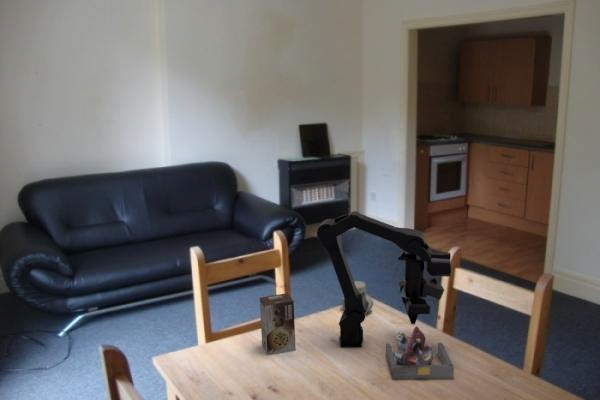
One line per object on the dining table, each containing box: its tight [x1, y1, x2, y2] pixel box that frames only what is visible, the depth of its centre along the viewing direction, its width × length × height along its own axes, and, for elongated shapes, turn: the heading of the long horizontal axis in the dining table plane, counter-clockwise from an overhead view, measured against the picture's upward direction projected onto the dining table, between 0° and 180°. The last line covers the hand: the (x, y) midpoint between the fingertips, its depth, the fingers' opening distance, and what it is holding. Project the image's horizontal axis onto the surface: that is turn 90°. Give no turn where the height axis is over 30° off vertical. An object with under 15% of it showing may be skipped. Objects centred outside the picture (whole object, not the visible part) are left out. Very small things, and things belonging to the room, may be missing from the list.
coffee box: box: [259, 292, 297, 356], centre depth 169 cm, size 9×6×16 cm
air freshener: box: [340, 280, 374, 313], centre depth 194 cm, size 11×8×10 cm
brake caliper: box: [393, 326, 434, 365], centre depth 161 cm, size 11×11×12 cm
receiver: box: [385, 342, 455, 380], centre depth 158 cm, size 16×14×4 cm
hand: (412, 323), depth 167 cm, fingers closed
